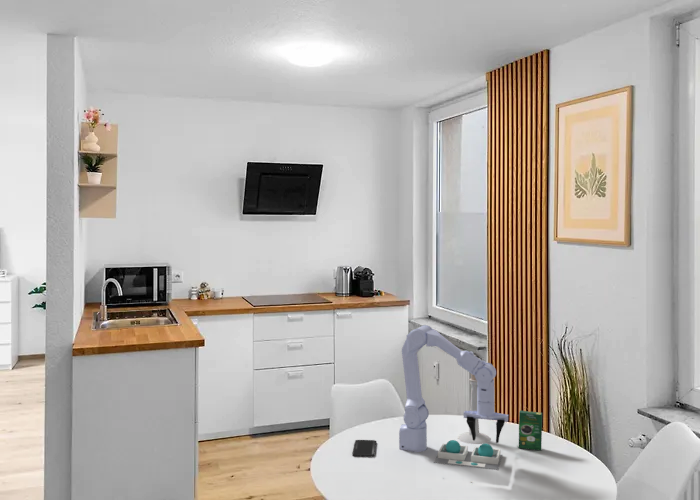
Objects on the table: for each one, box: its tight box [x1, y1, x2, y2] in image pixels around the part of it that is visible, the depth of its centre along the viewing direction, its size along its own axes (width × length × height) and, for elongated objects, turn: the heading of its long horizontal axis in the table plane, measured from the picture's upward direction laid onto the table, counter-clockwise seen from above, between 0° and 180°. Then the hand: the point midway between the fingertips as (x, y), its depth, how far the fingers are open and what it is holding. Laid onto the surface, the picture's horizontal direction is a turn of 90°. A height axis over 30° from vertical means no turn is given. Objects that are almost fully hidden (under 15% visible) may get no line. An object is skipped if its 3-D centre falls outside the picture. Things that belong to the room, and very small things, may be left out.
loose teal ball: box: [478, 443, 494, 457], centre depth 210 cm, size 5×5×5 cm
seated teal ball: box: [445, 439, 461, 454], centre depth 214 cm, size 5×5×5 cm
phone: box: [351, 439, 377, 458], centre depth 223 cm, size 8×1×15 cm
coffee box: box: [518, 410, 543, 452], centre depth 222 cm, size 8×3×13 cm, turn 71°
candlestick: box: [457, 373, 492, 445], centre depth 230 cm, size 13×13×30 cm
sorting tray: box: [433, 443, 503, 471], centre depth 210 cm, size 21×14×3 cm, turn 71°
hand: (485, 440), depth 210 cm, fingers open, 7 cm apart
